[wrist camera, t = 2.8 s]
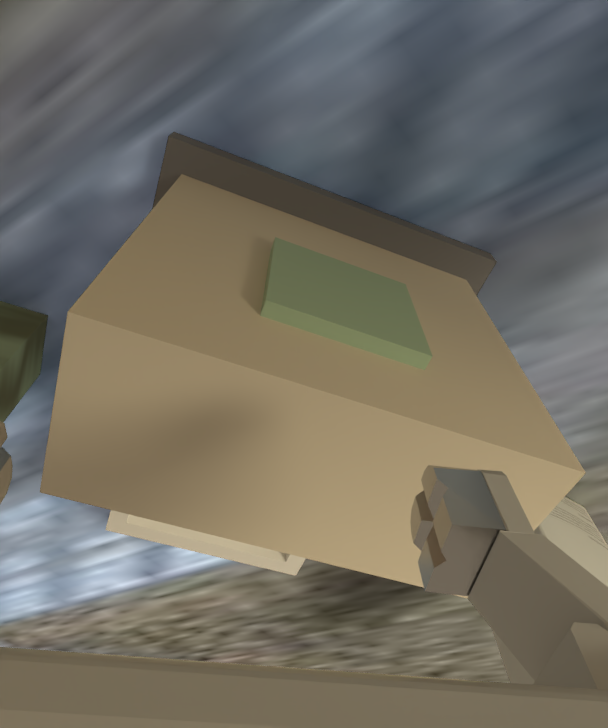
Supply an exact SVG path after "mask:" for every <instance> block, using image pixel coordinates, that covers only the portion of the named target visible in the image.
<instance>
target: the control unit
mask: <svg viewBox="0 0 608 728" xmlns="http://www.w3.org/2000/svg"><path fill="white" fill-rule="evenodd" d="M496 262H497V261H496V260H495V259H494V258H493V256H492V255H491V254H490V253H487V252H485V251H482V250H479V249H477V248H474V247H472V246H469V245H467V244H464V243H461V242H459V241H456V240H454V239H451V238H448V237H446V236H443V235H441V234H438V233H435V232H433V231H430V230H428V229H425V228H422V227H420V226H417V225H415V224H412V223H409V222H407V221H404V220H402V219H399V218H396V217H394V216H391V215H389V214H386V213H383V212H381V211H378V210H376V209H373V208H370V207H368V206H365V205H363V204H360V203H358V202H355V201H352V200H350V199H347V198H345V197H342V196H339V195H337V194H334V193H332V192H329V191H326V190H324V189H321V188H319V187H316V186H313V185H311V184H308V183H306V182H303V181H300V180H298V179H295V178H293V177H290V176H287V175H285V174H282V173H280V172H277V171H274V170H272V169H269V168H267V167H264V166H262V165H259V164H256V163H254V162H251V161H249V160H246V159H243V158H241V157H238V156H236V155H233V154H230V153H228V152H225V151H223V150H220V149H217V148H215V147H212V146H210V145H207V144H204V143H202V142H199V141H197V140H194V139H191V138H189V137H186V136H184V135H181V134H178V133H176V132H173V133H172V134H171V135H169V137H168V141H167V146H166V150H165V154H164V159H163V163H162V168H161V172H160V177H159V181H158V186H157V190H156V195H155V199H154V204H153V208H152V211H151V212H150V213H149V214H148V215H147V217H146V218H145V219H144V220H143V221H142V223H141V224H140V225H139V226H138V227H137V229H136V230H135V231H134V232H133V233H132V235H131V236H130V237H129V238H128V240H127V241H126V242H125V243H124V244H123V246H122V247H121V248H120V249H119V250H118V252H117V253H116V254H115V255H114V256H113V258H112V259H111V260H110V261H109V262H108V264H107V265H106V266H105V267H104V268H103V270H102V271H101V272H100V273H99V275H98V276H97V277H96V278H95V279H94V281H93V282H92V283H91V284H90V285H89V287H88V288H87V289H86V290H85V291H84V293H83V294H82V295H81V296H80V297H79V299H78V300H77V301H76V302H75V304H74V305H73V306H72V307H71V308H70V310H69V311H68V313H67V320H66V326H65V333H64V339H63V345H62V352H61V358H60V365H59V371H58V378H57V384H56V391H55V397H54V404H53V410H52V417H51V423H50V430H49V436H48V443H47V449H46V456H45V462H44V469H43V475H42V482H41V488H40V492H41V493H45V494H49V495H53V496H57V497H61V498H65V499H69V500H73V501H77V502H81V503H85V504H89V505H93V506H97V507H101V508H105V509H109V510H113V511H117V512H121V513H125V514H129V515H133V516H137V517H141V518H145V519H150V520H154V521H158V522H162V523H166V524H170V525H174V526H178V527H182V528H186V529H190V530H194V531H198V532H202V533H206V534H210V535H214V536H218V537H222V538H226V539H230V540H234V541H238V542H242V543H246V544H250V545H254V546H258V547H262V548H266V549H270V550H274V551H278V552H282V553H287V554H291V555H295V556H299V557H303V558H307V559H311V560H315V561H319V562H323V563H327V564H331V565H335V566H339V567H343V568H347V569H351V570H355V571H359V572H363V573H367V574H371V575H375V576H379V577H383V578H387V579H391V580H395V581H399V582H403V583H407V584H411V585H415V586H419V587H424V586H423V582H422V578H421V573H420V569H419V565H418V560H419V557H420V554H421V552H422V551H421V550H420V549H419V548H418V547H417V546H416V545H415V544H414V543H413V539H412V534H411V524H410V520H411V510H412V506H413V502H414V499H415V496H416V495H418V494H419V493H420V492H422V491H423V490H424V489H423V485H422V482H421V479H422V476H423V473H424V470H425V469H426V468H427V466H428V465H433V466H443V467H453V468H463V469H473V470H477V469H479V470H491V471H502V472H503V473H504V474H505V475H506V476H507V478H508V480H509V482H510V484H511V486H512V488H513V490H514V492H515V494H516V496H517V498H518V500H519V502H520V504H521V506H522V508H523V510H524V512H525V514H526V516H527V518H528V520H529V522H530V524H531V526H532V529H533V531H534V530H535V529H536V528H537V527H538V526H539V525H540V524H541V522H542V521H543V520H544V519H545V518H546V517H547V516H548V515H549V513H550V512H551V511H552V510H553V509H554V508H555V507H556V506H557V504H558V503H559V502H560V501H561V500H562V499H563V498H564V497H565V496H566V494H567V493H568V492H569V491H570V490H571V489H572V488H573V487H574V485H575V484H576V483H577V482H578V481H579V480H580V479H581V478H582V477H583V475H584V474H585V471H584V469H583V468H582V466H581V464H580V463H579V461H578V460H577V458H576V456H575V455H574V453H573V452H572V450H571V448H570V447H569V445H568V443H567V442H566V440H565V439H564V437H563V435H562V434H561V432H560V430H559V429H558V427H557V426H556V424H555V422H554V421H553V419H552V418H551V416H550V414H549V413H548V411H547V409H546V408H545V406H544V405H543V403H542V401H541V400H540V398H539V396H538V395H537V393H536V392H535V390H534V388H533V387H532V385H531V384H530V382H529V380H528V379H527V377H526V375H525V374H524V372H523V371H522V369H521V367H520V366H519V364H518V362H517V361H516V359H515V358H514V356H513V354H512V353H511V351H510V350H509V348H508V346H507V345H506V343H505V341H504V340H503V338H502V337H501V335H500V333H499V332H498V330H497V328H496V327H495V325H494V324H493V322H492V320H491V319H490V317H489V316H488V314H487V312H486V311H485V309H484V307H483V306H482V304H481V303H480V301H479V299H478V298H477V294H478V292H479V291H480V289H481V287H482V286H483V284H484V282H485V281H486V279H487V277H488V276H489V274H490V272H491V271H492V269H493V267H494V266H495V264H496ZM456 596H460V597H464V598H468V596H461V595H456Z"/></svg>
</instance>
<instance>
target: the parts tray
mask: <svg viewBox="0 0 608 728" xmlns="http://www.w3.org/2000/svg"><path fill="white" fill-rule="evenodd" d="M106 530H108V531H112V532H116V533H121V534H125V535H129V536H133V537H137V538H141V539H145V540H150V541H154V542H158V543H162V544H166V545H170V546H174V547H179V548H183V549H187V550H191V551H195V552H199V553H204V554H208V555H212V556H216V557H220V558H224V559H228V560H233V561H237V562H241V563H245V564H249V565H253V566H257V567H262V568H266V569H270V570H274V571H278V572H282V573H287V574H291V575H295V576H296V574H297V573H298V571H299V569H300V568H301V566H302V564H303V562H304V561H305V559H306V558H303V557H299V556H295V555H291V554H287V553H282V552H278V551H274V550H270V549H266V548H262V547H258V546H254V545H250V544H246V543H242V542H238V541H234V540H230V539H226V538H222V537H218V536H214V535H210V534H206V533H202V532H198V531H194V530H190V529H186V528H182V527H178V526H174V525H170V524H166V523H162V522H158V521H154V520H150V519H145V518H141V517H137V516H133V515H129V514H125V513H121V512H117V511H113V510H111V511H110V515H109V519H108V523H107V527H106Z"/></svg>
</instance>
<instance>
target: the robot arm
mask: <svg viewBox="0 0 608 728" xmlns="http://www.w3.org/2000/svg"><path fill="white" fill-rule="evenodd" d="M6 439H7V433H6V428H5V424H4V423H3V422H1V421H0V503H1V502H2V500H3V498H4V497H5V495H6V494H7V491H8V488H9V485H10V481H11V478H12V460H11V455H10V454H9V453H8V452H7V451H6V450H5V449H4V448H3V447H2V444H3V443H4V442H5V440H6ZM421 482H422V485H423V489H424V490H423V491H422V492H420V493H419V494H418V495H416V496H415V499H414V502H413V506H412V510H411V520H410V524H411V534H412V539H413V543H414V544H415V545H416V546H417V547H418V548H419V549H420V550H421V551H422V552H421V554H420V557H419V560H418V565H419V569H420V573H421V578H422V582H423V586H424V590H425V591H426V592H434V593H443V594H452V595H461V596H468V600H469V601H470V602H471V603H472V605H473V606H474V607H475V608H476V610H477V611H478V612H479V613H480V614H481V616H482V617H483V618H484V619H485V621H486V622H487V623H488V624H489V626H490V627H491V628H492V629H493V630H494V632H495V633H496V634H497V635H498V637H499V638H500V639H501V640H502V642H503V643H504V644H505V645H506V646H507V648H508V649H509V650H510V651H511V653H512V654H513V655H514V656H515V658H516V659H517V660H518V661H519V662H520V664H521V665H522V666H523V667H524V669H525V670H526V671H527V672H528V674H529V675H530V676H531V677H532V678H533V680H534V681H535V682H534V684H533V685H531V684H517V683H503V682H489V681H475V680H462V679H448V678H434V677H420V676H406V675H391V674H377V673H363V672H349V671H334V670H320V669H306V668H292V667H277V666H263V665H249V664H235V663H221V662H207V661H193V660H179V659H165V658H151V657H137V656H123V655H109V654H95V653H82V652H68V651H54V650H40V649H26V648H12V647H0V728H608V587H607V586H606V585H605V584H603V583H602V582H601V581H600V580H598V579H597V578H596V577H595V576H593V575H592V574H591V573H590V572H588V571H587V570H586V569H585V568H583V567H582V566H581V565H580V564H578V563H577V562H576V561H575V560H573V559H572V558H571V557H570V556H568V555H567V554H566V553H565V552H564V551H562V550H561V549H560V548H559V547H557V546H556V545H555V544H554V543H552V542H551V541H550V540H549V539H547V538H546V537H545V536H544V535H541V534H535V533H534V531H533V529H532V526H531V524H530V522H529V520H528V518H527V516H526V514H525V512H524V510H523V508H522V506H521V504H520V502H519V500H518V498H517V496H516V494H515V492H514V490H513V488H512V486H511V484H510V482H509V480H508V478H507V476H506V475H505V474H504V473H503V472H502V471H491V470H479V469H477V470H473V469H463V468H453V467H443V466H433V465H428V466H427V468H426V469H425V470H424V473H423V476H422V479H421Z"/></svg>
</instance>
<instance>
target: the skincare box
mask: <svg viewBox="0 0 608 728" xmlns="http://www.w3.org/2000/svg"><path fill="white" fill-rule="evenodd" d="M534 533H535V534H541V535H544V536H545V537H546V538H547V539H549V540H550V541H551V542H552V543H554V544H555V545H556V546H557V547H559V548H560V549H561V550H562V551H564V552H565V553H566V554H567V555H568V556H570V557H571V558H572V559H573V560H575V561H576V562H577V563H578V564H580V565H581V566H582V567H583V568H585V569H586V570H587V571H588V572H590V573H591V574H592V575H593V576H595V577H596V578H597V579H598V580H600V581H601V582H602V583H603V584H605V585H606V586H607V587H608V545H607V544H606V542H605V540H604V539H603V537H602V535H601V534H600V532H599V531H598V529H597V527H596V526H595V524H594V522H593V521H592V519H591V517H590V516H589V514H588V513H587V511H586V509H585V508H584V507H583V506H581V505H579V504H577V503H575V502H573V501H572V500H570V499H568V498H566V497H564V498H563V499H562V500H561V501H560V502H559V503H558V504H557V506H556V507H555V508H554V509H553V510H552V511H551V512H550V513H549V515H548V516H547V517H546V518H545V519H544V520H543V521H542V522H541V524H540V525H539V526H538V527H537V528H536V529H535V530H534ZM492 631H493V634H494V637H495V640H496V643H497V645H498V649H499V652H500V655H501V658H502V660H503V663H504V667H505V669H506V673H507V675H508V678H509V681H510V683H517V684H531V685H533V684H534V682H535V681H534V680H533V678H532V677H531V676H530V675H529V674H528V672H527V671H526V670H525V669H524V667H523V666H522V665H521V664H520V662H519V661H518V660H517V659H516V658H515V656H514V655H513V654H512V653H511V651H510V650H509V649H508V648H507V646H506V645H505V644H504V643H503V642H502V640H501V639H500V638H499V637H498V635H497V634H496V633H495V632H494V630H493V629H492Z"/></svg>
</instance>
